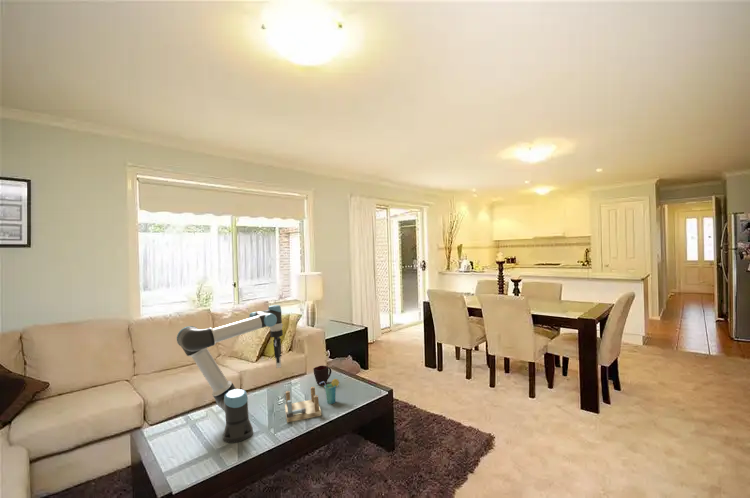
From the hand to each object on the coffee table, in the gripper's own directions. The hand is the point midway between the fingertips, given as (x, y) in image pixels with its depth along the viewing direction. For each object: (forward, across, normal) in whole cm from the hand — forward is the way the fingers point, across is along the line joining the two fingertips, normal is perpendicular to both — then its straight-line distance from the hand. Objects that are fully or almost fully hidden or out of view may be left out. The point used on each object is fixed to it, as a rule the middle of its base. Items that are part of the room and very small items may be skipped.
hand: (278, 367), depth 226 cm
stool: (+26, -7, -14) cm, 31 cm away
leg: (+23, -16, -12) cm, 30 cm away
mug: (+27, +39, -24) cm, 53 cm away
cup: (+27, +2, -30) cm, 40 cm away
